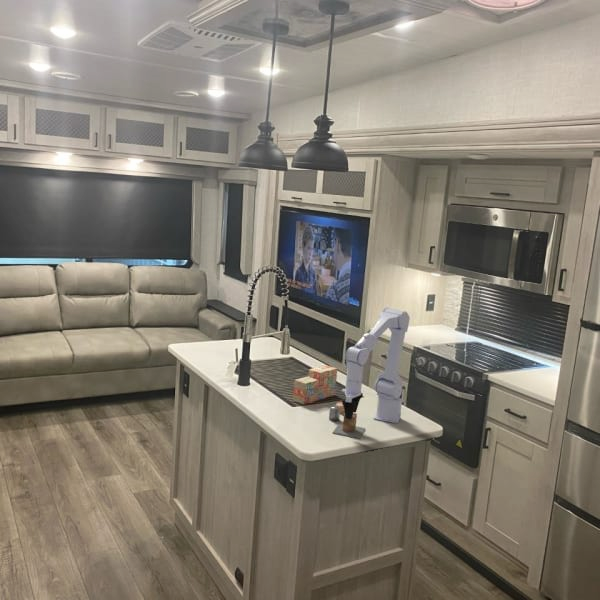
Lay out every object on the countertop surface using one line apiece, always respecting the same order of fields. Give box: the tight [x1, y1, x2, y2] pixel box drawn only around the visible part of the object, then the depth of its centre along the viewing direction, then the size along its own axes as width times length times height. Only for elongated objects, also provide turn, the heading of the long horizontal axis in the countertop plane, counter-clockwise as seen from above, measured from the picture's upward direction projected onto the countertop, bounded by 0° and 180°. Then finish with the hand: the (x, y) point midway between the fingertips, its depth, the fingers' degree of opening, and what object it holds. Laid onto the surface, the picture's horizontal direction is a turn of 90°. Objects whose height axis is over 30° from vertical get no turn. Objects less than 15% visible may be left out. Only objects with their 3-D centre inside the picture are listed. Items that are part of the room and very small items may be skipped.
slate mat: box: [332, 422, 366, 439], centre depth 222 cm, size 10×10×1 cm
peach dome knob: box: [335, 402, 345, 415], centre depth 242 cm, size 5×5×3 cm
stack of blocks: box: [292, 364, 338, 405], centre depth 255 cm, size 21×6×12 cm, turn 140°
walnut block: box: [342, 412, 358, 433], centre depth 221 cm, size 4×4×6 cm
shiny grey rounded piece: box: [328, 405, 341, 423], centre depth 232 cm, size 4×4×5 cm
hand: (350, 415), depth 221 cm, fingers open, 7 cm apart
